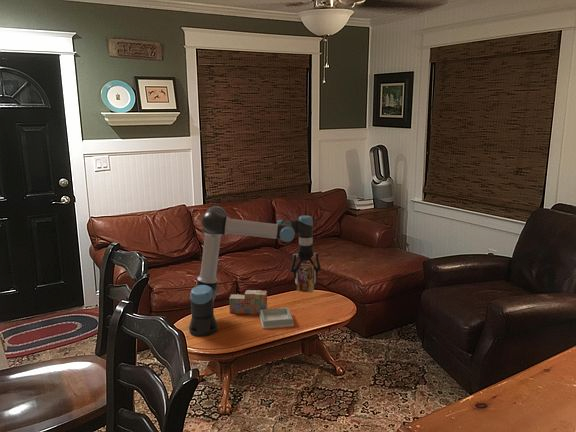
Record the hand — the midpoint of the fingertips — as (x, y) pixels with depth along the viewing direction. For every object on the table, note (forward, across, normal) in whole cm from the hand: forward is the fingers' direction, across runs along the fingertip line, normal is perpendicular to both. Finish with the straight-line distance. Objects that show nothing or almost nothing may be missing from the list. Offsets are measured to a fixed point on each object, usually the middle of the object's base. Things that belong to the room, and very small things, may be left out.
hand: (305, 283), depth 277 cm
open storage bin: (+21, -16, 0) cm, 27 cm away
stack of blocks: (+22, -30, +16) cm, 41 cm away
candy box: (+5, 0, 0) cm, 5 cm away
